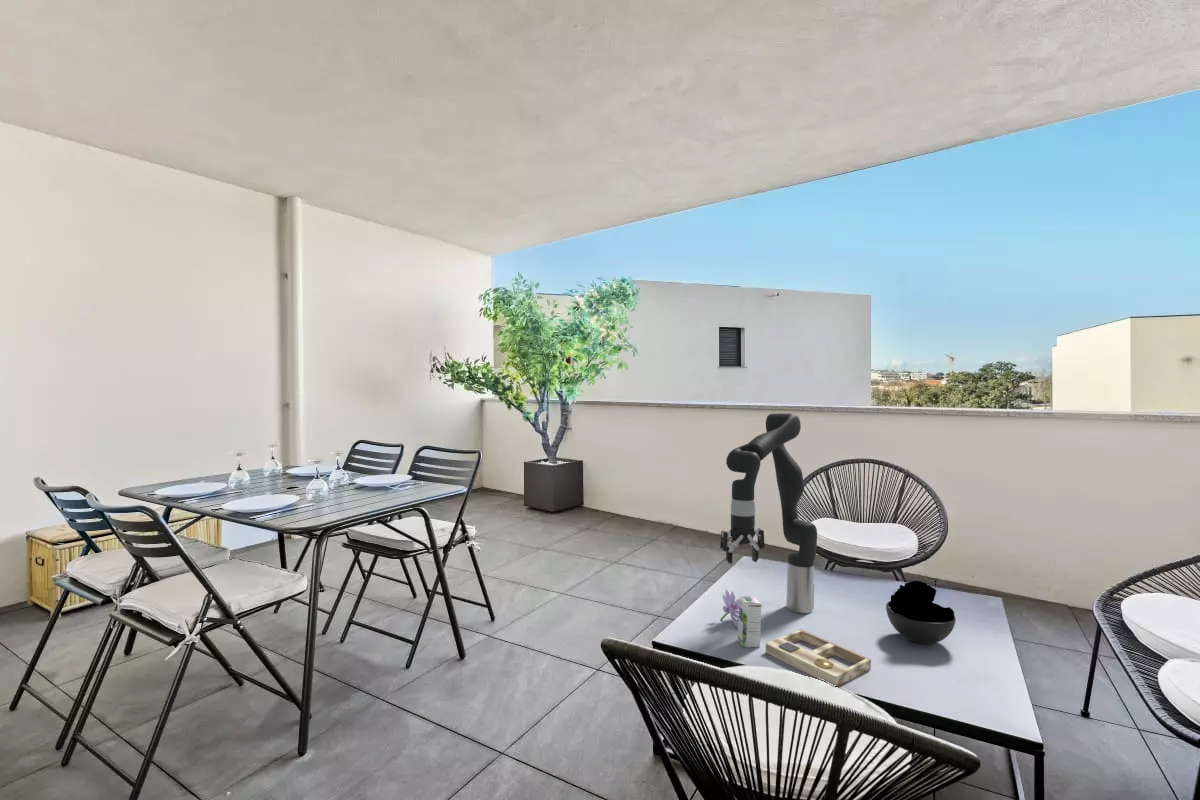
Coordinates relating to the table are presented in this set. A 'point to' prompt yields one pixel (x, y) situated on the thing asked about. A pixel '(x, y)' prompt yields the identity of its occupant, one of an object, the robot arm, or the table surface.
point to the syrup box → (749, 621)
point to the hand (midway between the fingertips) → (742, 562)
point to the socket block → (818, 657)
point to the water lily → (731, 607)
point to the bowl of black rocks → (919, 614)
